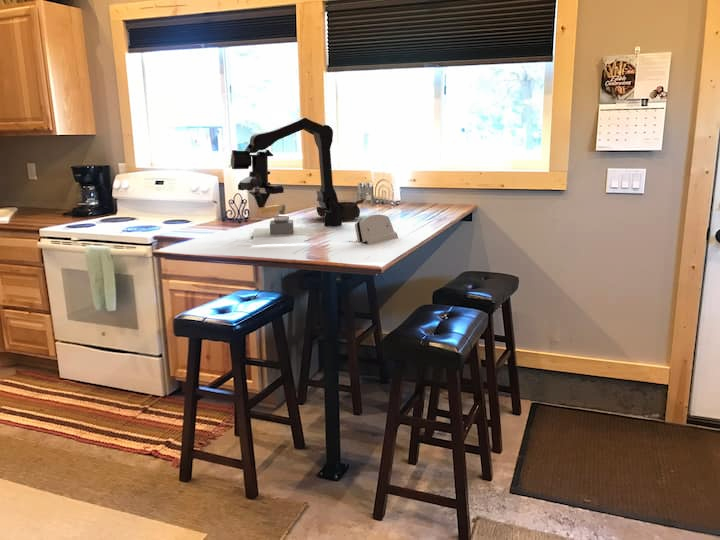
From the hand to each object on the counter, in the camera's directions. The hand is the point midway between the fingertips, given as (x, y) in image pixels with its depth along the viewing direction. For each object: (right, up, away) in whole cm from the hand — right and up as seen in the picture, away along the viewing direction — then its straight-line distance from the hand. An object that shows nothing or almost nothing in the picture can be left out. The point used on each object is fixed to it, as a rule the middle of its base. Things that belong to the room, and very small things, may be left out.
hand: (261, 210), depth 225 cm
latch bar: (+4, 0, +2) cm, 4 cm away
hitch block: (+9, -9, +1) cm, 13 cm away
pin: (+8, -8, -2) cm, 12 cm away
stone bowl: (+27, 0, +37) cm, 46 cm away
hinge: (+43, -12, -14) cm, 46 cm away
